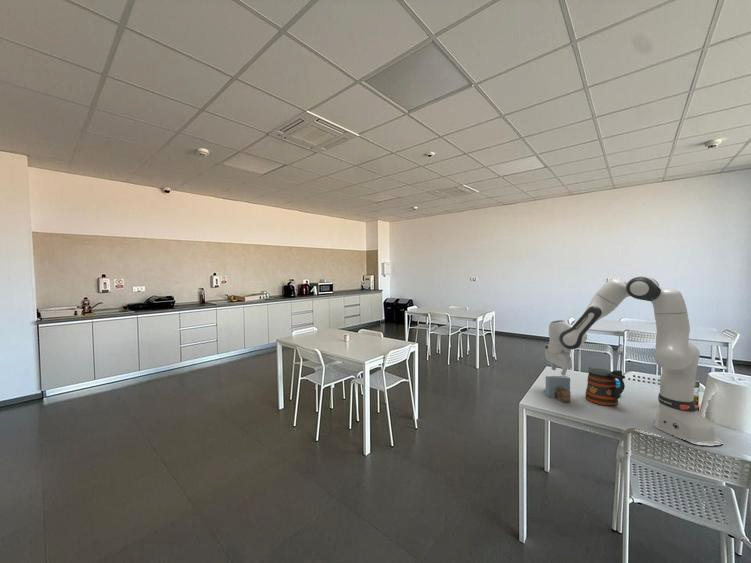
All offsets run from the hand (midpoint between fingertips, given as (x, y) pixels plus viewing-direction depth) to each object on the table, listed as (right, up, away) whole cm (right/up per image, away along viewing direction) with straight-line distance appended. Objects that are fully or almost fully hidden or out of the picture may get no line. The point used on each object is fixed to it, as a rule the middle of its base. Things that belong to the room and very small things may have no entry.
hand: (558, 372), depth 176 cm
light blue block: (0, -14, +1) cm, 14 cm away
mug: (+33, -13, +2) cm, 36 cm away
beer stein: (+21, -14, -8) cm, 27 cm away
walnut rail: (0, -14, +1) cm, 14 cm away
